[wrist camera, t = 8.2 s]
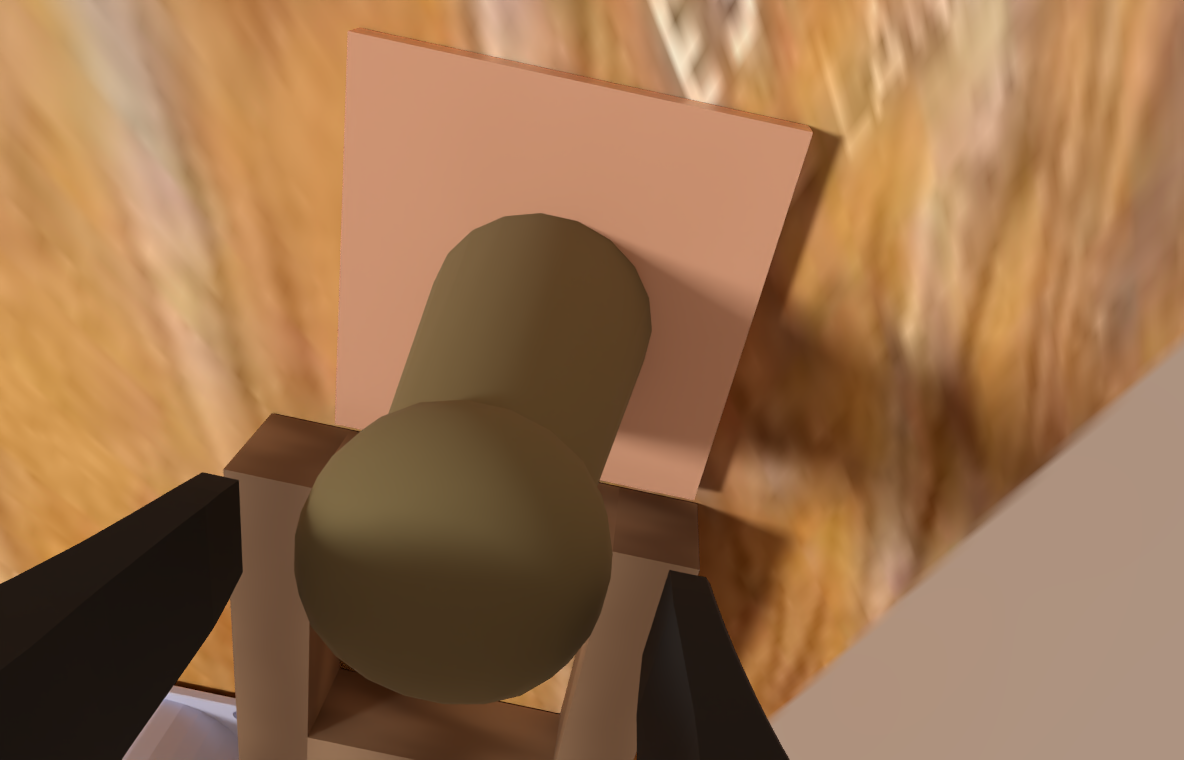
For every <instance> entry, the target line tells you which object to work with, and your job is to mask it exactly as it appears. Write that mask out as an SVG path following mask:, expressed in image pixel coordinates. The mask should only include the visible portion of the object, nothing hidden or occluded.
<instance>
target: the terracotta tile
mask: <svg viewBox="0 0 1184 760" xmlns="http://www.w3.org/2000/svg"><path fill="white" fill-rule="evenodd" d="M812 134H813V132H812V130H811V129H810V127H809V126H808V125H804V124H799V123H794V122H790V121H785V120H781V119H776V118H772V117H767V116H762V115H758V114H753V113H749V112H744V111H739V110H735V109H730V108H726V107H721V106H717V105H712V104H707V103H703V102H698V101H694V100H689V99H684V98H680V97H675V96H671V95H666V94H661V93H657V92H652V91H648V90H643V89H639V88H634V87H629V86H625V85H620V84H616V83H611V82H606V81H602V80H597V79H593V78H588V77H584V76H579V75H574V74H570V73H565V72H561V71H556V70H551V69H547V68H542V67H538V66H533V65H528V64H524V63H519V62H515V61H510V60H506V59H501V58H496V57H492V56H487V55H483V54H478V53H473V52H469V51H464V50H460V49H455V48H451V47H446V46H441V45H437V44H432V43H428V42H423V41H418V40H414V39H409V38H405V37H400V36H396V35H391V34H386V33H382V32H377V31H373V30H368V29H363V28H357V29H353V30H350V31H348V41H347V72H346V102H345V132H344V163H343V193H342V224H341V254H340V285H339V315H338V346H337V376H336V406H335V424H338V425H342V426H347V427H352V428H356V429H361V430H363V429H364V428H366V427H367V426H368V425H370V424H371V423H373V422H374V421H376V420H377V419H379V418H380V417H382V416H384V415H387V414H388V413H389V410H390V407H391V404H392V402H393V399H394V396H395V393H396V390H397V387H398V384H399V381H400V378H401V375H402V373H403V370H404V367H405V364H406V361H407V358H408V355H409V352H410V349H411V346H412V344H413V341H414V338H415V335H416V332H417V329H418V326H419V323H420V320H421V318H422V315H423V312H424V309H425V306H426V303H427V300H428V297H429V294H430V291H431V289H432V286H433V283H434V281H435V279H436V277H437V274H438V272H439V270H440V268H441V266H442V264H443V262H444V260H445V258H446V256H447V254H448V253H449V252H450V251H451V250H452V249H453V248H454V247H455V246H456V245H457V244H458V243H459V242H460V241H462V240H463V239H464V238H465V237H466V236H467V235H468V234H469V233H470V232H471V231H472V230H474V229H476V228H479V227H481V226H483V225H486V224H488V223H490V222H492V221H495V220H497V219H499V218H502V217H504V216H513V215H524V214H535V213H543V214H548V215H552V216H557V217H561V218H566V219H570V220H575V221H578V222H580V223H582V224H584V225H585V226H587V227H589V228H591V229H592V230H594V231H596V232H598V233H599V234H601V235H603V236H605V237H606V238H608V239H610V240H611V241H612V242H613V243H614V244H615V245H616V247H617V248H618V249H619V250H620V251H621V252H622V253H623V254H624V255H625V256H626V257H627V259H628V260H629V261H630V262H631V263H632V264H633V265H634V266H635V268H636V270H637V272H638V275H639V277H640V279H641V281H642V283H643V286H644V288H645V290H646V292H647V294H648V297H649V302H650V313H651V325H652V333H651V336H650V340H649V344H648V348H647V352H646V355H645V359H644V362H643V365H642V368H641V370H640V373H639V376H638V378H637V381H636V384H635V387H634V389H633V392H632V395H631V397H630V400H629V403H628V405H627V408H626V411H625V413H624V416H623V419H622V421H621V424H620V427H619V429H618V432H617V435H616V438H615V440H614V443H613V446H612V448H611V451H610V454H609V456H608V459H607V462H606V464H605V467H604V470H603V472H602V475H601V478H600V480H601V481H606V482H611V483H616V484H620V485H625V486H630V487H634V488H639V489H644V490H649V491H653V492H658V493H663V494H667V495H672V496H677V497H682V498H686V499H691V500H694V499H695V496H696V493H697V490H698V487H699V483H700V480H701V477H702V474H703V471H704V468H705V465H706V462H707V459H708V456H709V453H710V449H711V446H712V443H713V440H714V437H715V434H716V431H717V428H718V425H719V422H720V419H721V415H722V412H723V409H724V406H725V403H726V400H727V397H728V394H729V391H730V388H731V385H732V381H733V378H734V375H735V372H736V369H737V366H738V363H739V360H740V357H741V354H742V351H743V348H744V344H745V341H746V338H747V335H748V332H749V329H750V326H751V323H752V320H753V317H754V314H755V310H756V307H757V304H758V301H759V298H760V295H761V292H762V289H763V286H764V283H765V280H766V276H767V273H768V270H769V267H770V264H771V261H772V258H773V255H774V252H775V249H776V246H777V242H778V239H779V236H780V233H781V230H782V227H783V224H784V221H785V218H786V215H787V212H788V209H789V205H790V202H791V199H792V196H793V193H794V190H795V187H796V184H797V181H798V178H799V175H800V171H801V168H802V165H803V162H804V159H805V156H806V153H807V150H808V147H809V144H810V141H811V137H812Z"/></svg>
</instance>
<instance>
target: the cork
mask: <svg viewBox="0 0 1184 760" xmlns="http://www.w3.org/2000/svg"><path fill="white" fill-rule="evenodd" d="M651 333H652V325H651V313H650V302H649V297H648V294H647V292H646V290H645V288H644V286H643V283H642V281H641V279H640V277H639V275H638V272H637V270H636V268H635V266H634V265H633V264H632V263H631V262H630V261H629V260H628V259H627V257H626V256H625V255H624V254H623V253H622V252H621V251H620V250H619V249H618V248H617V247H616V245H615V244H614V243H613V242H612V241H611V240H610V239H608V238H606V237H605V236H603V235H601V234H599V233H598V232H596V231H594V230H592V229H591V228H589V227H587V226H585V225H584V224H582V223H580V222H578V221H575V220H570V219H566V218H561V217H557V216H552V215H548V214H543V213H535V214H524V215H513V216H504V217H502V218H499V219H497V220H495V221H492V222H490V223H488V224H486V225H483V226H481V227H479V228H476V229H474V230H472V231H471V232H470V233H469V234H468V235H467V236H466V237H465V238H464V239H463V240H462V241H460V242H459V243H458V244H457V245H456V246H455V247H454V248H453V249H452V250H451V251H450V252H449V253H448V254H447V256H446V258H445V260H444V262H443V264H442V266H441V268H440V270H439V272H438V274H437V277H436V279H435V281H434V283H433V286H432V289H431V291H430V294H429V297H428V300H427V303H426V306H425V309H424V312H423V315H422V318H421V320H420V323H419V326H418V329H417V332H416V335H415V338H414V341H413V344H412V346H411V349H410V352H409V355H408V358H407V361H406V364H405V367H404V370H403V373H402V375H401V378H400V381H399V384H398V387H397V390H396V393H395V396H394V399H393V402H392V404H391V407H390V410H389V413H388V414H387V415H384V416H382V417H380V418H379V419H377V420H376V421H374V422H373V423H371V424H370V425H368V426H367V427H366V428H364V429H363V430H362V431H360V432H359V433H358V434H357V435H356V436H355V437H354V438H352V439H351V440H350V441H349V442H348V443H347V444H345V445H344V446H343V447H342V448H341V449H340V450H339V451H337V452H336V453H335V454H334V455H333V456H332V457H331V458H330V460H329V461H328V463H327V464H326V465H325V467H324V468H323V470H322V471H321V472H320V474H319V475H318V477H317V479H316V481H315V483H314V485H313V487H312V489H311V491H310V493H309V496H308V498H307V500H306V502H305V504H304V506H303V508H302V510H301V513H300V517H299V521H298V525H297V529H296V533H295V550H294V573H295V578H296V583H297V588H298V593H299V596H300V599H301V602H302V604H303V607H304V609H305V612H306V614H307V617H308V619H309V622H310V625H311V627H312V628H313V629H314V631H315V632H316V633H317V634H318V636H319V637H320V638H321V639H322V640H323V642H324V643H325V644H326V645H327V647H328V648H329V649H330V650H331V651H332V653H333V654H334V655H335V656H336V657H337V658H339V659H340V660H342V661H343V662H344V663H346V664H347V665H348V666H350V667H351V668H352V669H354V670H355V671H357V672H358V673H359V674H361V675H362V676H363V677H365V678H366V679H368V680H370V681H372V682H374V683H377V684H379V685H381V686H384V687H386V688H388V689H390V690H393V691H395V692H397V693H399V694H402V695H404V696H408V697H413V698H417V699H422V700H427V701H431V702H436V703H441V704H488V703H492V702H496V701H500V700H504V699H508V698H512V697H516V696H521V695H522V694H524V693H526V692H528V691H529V690H531V689H533V688H534V687H536V686H538V685H540V684H541V683H543V682H545V681H546V680H548V679H550V678H551V677H552V676H554V675H555V674H556V673H557V672H558V671H559V670H561V669H562V668H563V667H564V666H565V665H566V664H568V662H569V661H570V660H571V659H572V658H573V656H574V655H575V654H576V653H577V652H578V650H579V649H580V648H581V647H582V645H583V644H584V643H585V642H586V641H587V639H588V638H589V637H590V636H591V633H592V631H593V629H594V627H595V625H596V623H597V620H598V618H599V616H600V614H601V611H602V607H603V604H604V600H605V597H606V593H607V590H608V586H609V583H610V579H611V569H612V556H613V553H612V545H611V538H610V530H609V523H608V516H607V512H606V509H605V505H604V501H603V498H602V495H601V493H600V491H599V489H598V487H597V486H598V483H599V480H600V478H601V475H602V472H603V470H604V467H605V464H606V462H607V459H608V456H609V454H610V451H611V448H612V446H613V443H614V440H615V438H616V435H617V432H618V429H619V427H620V424H621V421H622V419H623V416H624V413H625V411H626V408H627V405H628V403H629V400H630V397H631V395H632V392H633V389H634V387H635V384H636V381H637V378H638V376H639V373H640V370H641V368H642V365H643V362H644V359H645V355H646V352H647V348H648V344H649V340H650V336H651Z"/></svg>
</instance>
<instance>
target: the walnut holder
mask: <svg viewBox="0 0 1184 760" xmlns="http://www.w3.org/2000/svg"><path fill="white" fill-rule="evenodd" d="M358 433H359V432H357V431H352V430H347V429H343V428H338V427H333V426H328V425H324V424H319V423H314V422H310V421H305V420H300V419H295V418H291V417H286V416H281V415H277V414H271V415H270V416H269V417H268V418H267V419H266V421H265V422H264V423H263V424H262V425H261V426H260V428H259V429H258V430H257V431H256V432H255V433H254V434H253V436H252V437H251V438H250V439H249V440H248V441H247V443H246V444H245V445H244V446H243V447H242V448H241V450H240V451H239V452H238V453H237V454H236V455H235V457H234V458H233V459H232V460H231V461H230V462H229V464H228V465H227V466H226V467H225V468H224V469H223V470H224V477H227V478H232V479H236V480H239V492H240V516H241V539H242V563H243V573H242V575H241V577H240V579H239V581H238V583H237V585H236V587H235V589H234V591H233V593H232V595H231V597H230V601H231V619H232V638H233V657H234V676H235V694H236V713H237V732H238V750H239V760H634V758H635V755H636V752H637V721H636V714H637V703H638V692H639V682H640V672H641V663H642V654H643V651H644V648H645V645H646V642H647V639H648V635H649V632H650V629H651V626H652V623H653V620H654V617H655V613H656V610H657V607H658V604H659V601H660V598H661V595H662V591H663V588H664V585H665V582H666V579H667V576H668V573H669V570H673V571H678V572H683V573H687V574H692V575H697V576H698V574H699V571H700V562H699V535H698V509H697V504H696V503H691V502H687V501H682V500H677V499H673V498H668V497H663V496H658V495H654V494H649V493H644V492H640V491H635V490H630V489H625V488H621V487H616V486H611V485H607V484H602V483H598V486H597V487H598V489H599V491H600V493H601V495H602V498H603V501H604V505H605V509H606V512H607V516H608V523H609V530H610V538H611V545H612V553H613V556H612V569H611V579H610V583H609V586H608V590H607V593H606V597H605V600H604V604H603V607H602V611H601V614H600V616H599V618H598V620H597V623H596V625H595V627H594V629H593V631H592V633H591V636H590V637H589V638H588V639H587V641H586V642H585V643H584V644H583V645H582V647H581V648H580V649H579V650H578V652H577V653H576V656H575V660H574V663H573V667H572V671H571V675H570V679H569V682H568V686H567V690H566V694H565V698H564V702H563V705H562V709H561V713H560V714H555V713H550V712H546V711H541V710H536V709H531V708H527V707H522V706H517V705H512V704H507V703H503V702H498V701H496V702H492V703H488V704H441V703H436V702H431V701H427V700H422V699H417V698H413V697H408V696H404V695H402V694H399V693H397V692H395V691H393V690H390V689H388V688H386V687H384V686H381V685H379V684H377V683H374V682H372V681H370V680H368V679H366V678H365V677H363V676H362V675H361V674H359V673H358V672H354V671H349V670H344V669H340V659H339V658H337V657H336V656H335V655H334V654H333V653H332V651H331V650H330V649H329V648H328V647H327V645H326V644H325V643H324V642H323V640H322V639H321V638H320V637H319V636H318V634H317V633H316V632H315V631H314V629H313V628H312V627H311V625H310V622H309V619H308V617H307V614H306V612H305V609H304V607H303V604H302V602H301V599H300V596H299V593H298V588H297V583H296V578H295V573H294V550H295V533H296V529H297V525H298V521H299V517H300V513H301V510H302V508H303V506H304V504H305V502H306V500H307V498H308V496H309V493H310V491H311V489H312V487H313V485H314V483H315V481H316V479H317V477H318V475H319V474H320V472H321V471H322V470H323V468H324V467H325V465H326V464H327V463H328V461H329V460H330V458H331V457H332V456H333V455H334V454H335V453H336V452H337V451H339V450H340V449H341V448H342V447H343V446H344V445H345V444H347V443H348V442H349V441H350V440H351V439H352V438H354V437H355V436H356V435H357V434H358Z"/></svg>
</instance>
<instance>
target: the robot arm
mask: <svg viewBox="0 0 1184 760" xmlns="http://www.w3.org/2000/svg"><path fill="white" fill-rule="evenodd" d="M242 573H243V563H242V539H241V516H240V492H239V480H236V479H232V478H227V477H222V476H217V475H212V474H208V473H203V472H202V473H201V474H199V475H197V476H195V477H193V478H192V479H190V480H188V481H186V482H185V483H183V484H181V485H179V486H178V487H176V488H174V489H173V490H171V491H169V492H167V493H166V494H164V495H162V496H161V497H159V498H157V499H156V500H154V501H152V502H151V503H149V504H147V505H145V506H144V507H142V508H140V509H139V510H137V511H135V512H134V513H132V514H130V515H128V516H127V517H125V518H123V519H121V520H120V521H118V522H116V523H114V524H113V525H111V526H109V527H107V528H106V529H104V530H102V531H100V532H99V533H97V534H95V535H93V536H92V537H90V538H88V539H86V540H85V541H83V542H81V543H79V544H77V545H75V546H73V547H71V548H70V549H68V550H66V551H64V552H62V553H60V554H58V555H56V556H54V557H52V558H50V559H48V560H46V561H44V562H43V563H41V564H39V565H37V566H35V567H33V568H31V569H29V570H27V571H25V572H23V573H21V574H19V575H18V576H16V577H14V578H12V579H10V580H8V581H5V582H3V583H1V584H0V760H239V750H238V732H237V713H236V698H232V697H227V696H222V695H218V694H213V693H208V692H203V691H198V690H193V689H189V688H184V687H179V686H174V684H175V683H176V681H177V680H178V679H179V677H180V676H181V674H182V673H183V672H184V670H185V669H186V667H187V666H188V664H189V663H190V661H191V660H192V659H193V657H194V656H195V654H196V653H197V651H198V650H199V648H200V647H201V646H202V644H203V643H204V641H205V640H206V638H207V637H208V635H209V634H210V632H211V631H212V629H213V628H214V626H215V624H216V623H217V621H218V619H219V617H220V615H221V613H222V612H223V610H224V608H225V606H226V604H227V602H228V600H229V599H230V597H231V595H232V593H233V591H234V589H235V587H236V585H237V583H238V581H239V579H240V577H241V575H242ZM636 721H637V760H789V758H788V756H787V754H786V753H785V751H784V749H783V747H782V745H781V744H780V742H779V740H778V738H777V736H776V734H775V733H774V731H773V729H772V727H771V725H770V723H769V721H768V719H767V717H766V715H765V713H764V711H763V709H762V707H761V705H760V703H759V701H758V699H757V697H756V695H755V693H754V691H753V689H752V686H751V684H750V682H749V680H748V678H747V676H746V673H745V671H744V669H743V667H742V665H741V663H740V660H739V658H738V656H737V653H736V651H735V649H734V646H733V644H732V641H731V639H730V637H729V634H728V632H727V629H726V627H725V624H724V621H723V619H722V616H721V614H720V611H719V608H718V605H717V603H716V600H715V597H714V594H713V591H712V588H711V585H710V583H709V582H708V580H707V579H706V577H702V576H697V575H692V574H687V573H683V572H678V571H673V570H669V573H668V576H667V579H666V582H665V585H664V588H663V591H662V595H661V598H660V601H659V604H658V607H657V610H656V613H655V617H654V620H653V623H652V626H651V629H650V632H649V635H648V639H647V642H646V645H645V648H644V651H643V654H642V663H641V672H640V682H639V692H638V703H637V714H636Z"/></svg>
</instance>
